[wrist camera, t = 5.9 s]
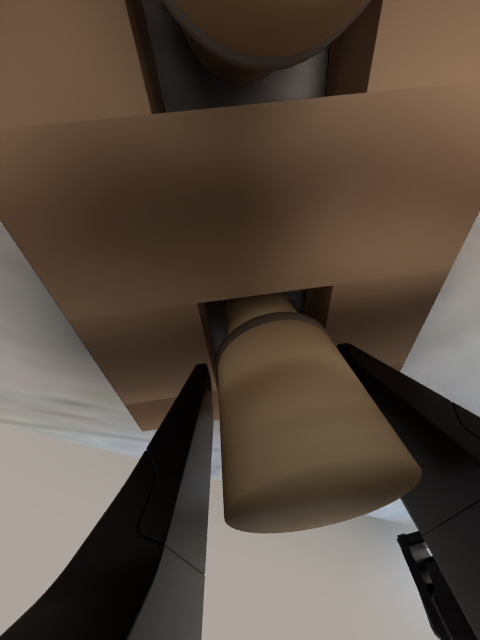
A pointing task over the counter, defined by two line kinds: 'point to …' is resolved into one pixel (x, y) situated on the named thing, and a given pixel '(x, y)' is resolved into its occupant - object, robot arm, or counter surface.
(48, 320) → the counter surface
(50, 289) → the brown block with openings
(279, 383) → the oak leg
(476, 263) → the counter surface
